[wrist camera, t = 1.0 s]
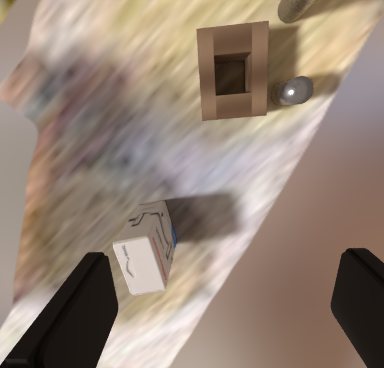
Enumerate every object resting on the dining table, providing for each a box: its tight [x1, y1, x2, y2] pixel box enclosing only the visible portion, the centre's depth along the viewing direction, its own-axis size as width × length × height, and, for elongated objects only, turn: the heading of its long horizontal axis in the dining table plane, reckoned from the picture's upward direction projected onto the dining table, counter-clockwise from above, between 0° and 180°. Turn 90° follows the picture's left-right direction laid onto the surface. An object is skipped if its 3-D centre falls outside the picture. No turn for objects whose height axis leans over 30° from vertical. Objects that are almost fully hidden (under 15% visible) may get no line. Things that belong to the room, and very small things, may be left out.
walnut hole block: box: [197, 21, 269, 121], centre depth 28 cm, size 10×8×5 cm
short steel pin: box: [271, 76, 313, 105], centre depth 28 cm, size 3×3×6 cm
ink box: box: [113, 200, 177, 296], centre depth 33 cm, size 9×5×12 cm, turn 13°
